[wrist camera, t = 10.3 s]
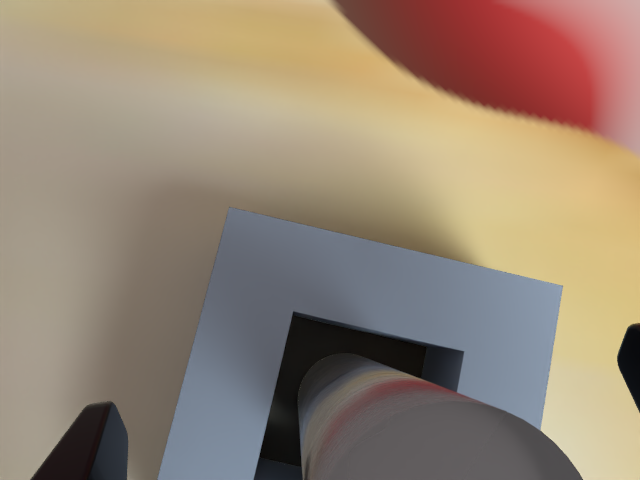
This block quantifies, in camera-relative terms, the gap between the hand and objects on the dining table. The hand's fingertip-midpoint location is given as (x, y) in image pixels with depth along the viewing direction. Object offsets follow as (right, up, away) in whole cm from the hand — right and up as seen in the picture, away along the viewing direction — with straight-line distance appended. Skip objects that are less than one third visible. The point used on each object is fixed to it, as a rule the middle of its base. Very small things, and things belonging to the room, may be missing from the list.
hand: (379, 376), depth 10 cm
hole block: (0, -3, +8) cm, 9 cm away
